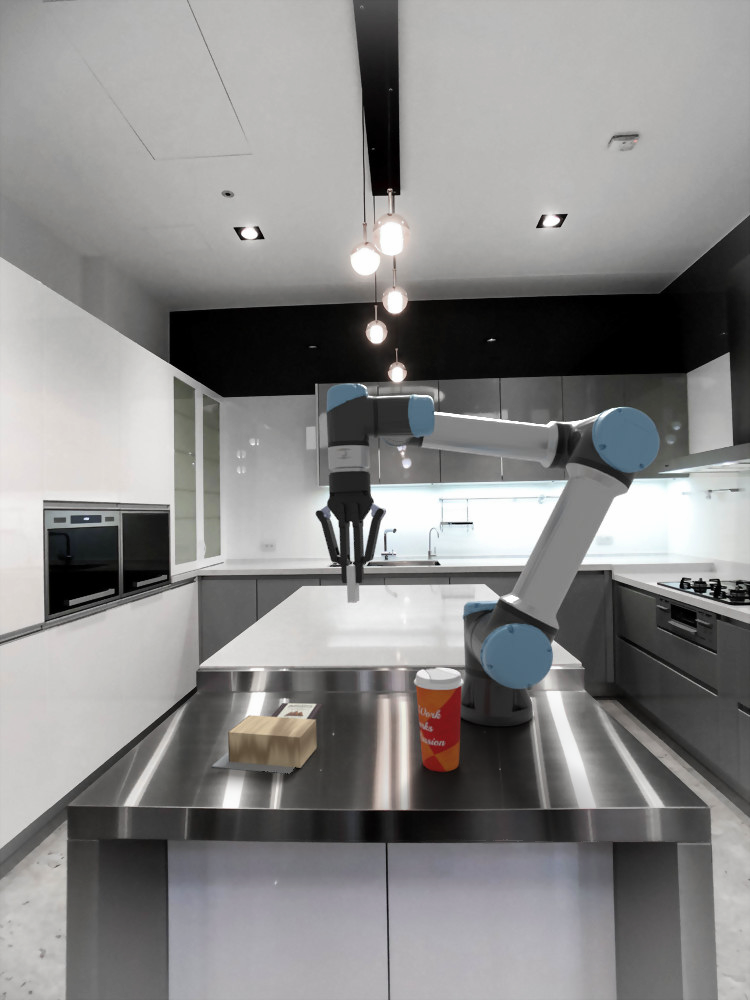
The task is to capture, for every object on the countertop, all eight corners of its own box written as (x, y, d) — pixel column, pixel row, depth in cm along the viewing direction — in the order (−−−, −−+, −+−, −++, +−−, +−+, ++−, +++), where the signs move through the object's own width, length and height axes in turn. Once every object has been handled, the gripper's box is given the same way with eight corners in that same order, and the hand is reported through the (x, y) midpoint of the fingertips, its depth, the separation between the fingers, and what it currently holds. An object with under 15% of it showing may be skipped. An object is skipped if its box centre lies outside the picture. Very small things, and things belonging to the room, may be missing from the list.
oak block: (315, 719, 103) (249, 715, 106) (299, 737, 95) (228, 732, 98) (316, 747, 103) (249, 742, 106) (300, 767, 95) (228, 761, 98)
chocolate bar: (254, 735, 108) (282, 703, 126) (254, 740, 108) (282, 707, 126) (300, 737, 107) (322, 703, 125) (301, 742, 107) (322, 708, 125)
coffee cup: (408, 758, 98) (405, 669, 98) (450, 749, 101) (448, 664, 101) (429, 779, 90) (427, 683, 90) (475, 769, 93) (473, 676, 93)
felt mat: (315, 743, 105) (314, 742, 105) (290, 773, 93) (290, 772, 93) (244, 738, 108) (244, 737, 108) (212, 766, 97) (212, 765, 97)
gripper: (308, 471, 102) (312, 604, 102) (380, 468, 99) (384, 605, 99) (321, 473, 110) (325, 597, 109) (388, 470, 107) (392, 598, 106)
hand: (353, 601), depth 104 cm, fingers closed
